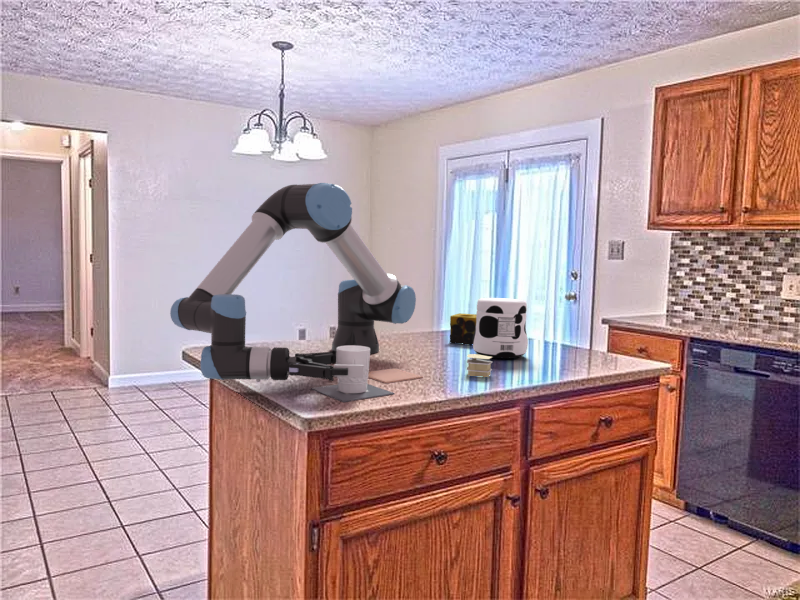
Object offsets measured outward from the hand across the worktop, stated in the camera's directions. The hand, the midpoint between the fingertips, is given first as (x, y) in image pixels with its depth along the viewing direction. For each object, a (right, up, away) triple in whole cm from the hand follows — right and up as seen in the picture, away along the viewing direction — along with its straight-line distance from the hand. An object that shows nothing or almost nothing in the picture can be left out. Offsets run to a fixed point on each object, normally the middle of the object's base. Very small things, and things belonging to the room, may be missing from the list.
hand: (363, 365), depth 145 cm
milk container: (+40, -3, +53) cm, 66 cm away
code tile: (-3, -6, +1) cm, 7 cm away
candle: (+33, 0, +79) cm, 85 cm away
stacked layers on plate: (+30, -6, +23) cm, 38 cm away
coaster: (+6, -5, +19) cm, 20 cm away
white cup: (-3, -6, +1) cm, 7 cm away
